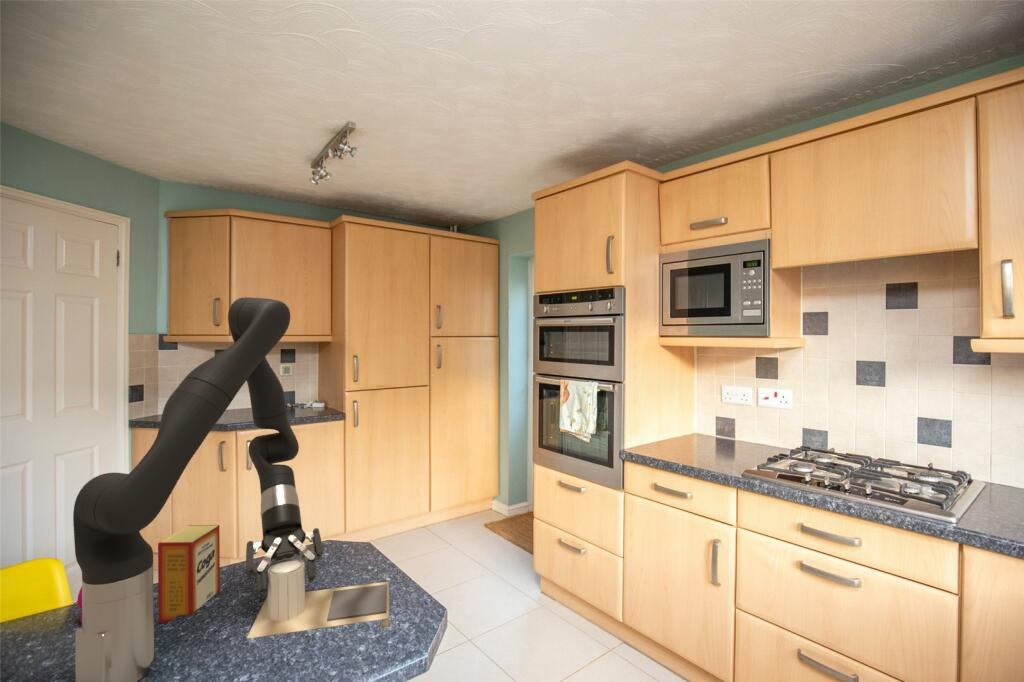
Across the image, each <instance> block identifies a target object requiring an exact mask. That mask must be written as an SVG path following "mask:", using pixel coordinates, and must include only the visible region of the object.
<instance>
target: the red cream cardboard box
mask: <svg viewBox="0 0 1024 682" xmlns="http://www.w3.org/2000/svg"><path fill="white" fill-rule="evenodd" d="M220 537H221V536H220V524H206V525H204V524H199V525H197V524H196V525H192V524H191V525H190V524H189V525H187V526H186V527H183V529H180V530H179V531H175V532H174V533H173V534H171V535H169V536H168V537H166V538H165V539H162V540H161V541H160V542H158V543H157V559H158V560H157V561H158V562H157V569H158V570H157V571H158V572H157V579H158V580H157V581H158V585H157V587H158V590H157V591H158V595H157V596H158V601H157V602H158V623H169V622H171V621H172V620H174V619H176V618H177V617H179V616H181V615H182V616H183V615H184V616H185V615H193V614H194V613H195V612H196V611H197V610H199V609H200V608H201V607H202V606H203V605H205V604H206V603H207V602H208V601H210V599H211V598H213V597H214V596H216V595H218V594H220V591H221V586H220V585H221V583H220V582H221V577H220V576H221V572H220V571H221V570H220V568H221V564H220V563H221V562H220V561H221V560H220V559H221V558H220V557H221V555H220V547H221V545H220V542H221V541H220Z"/></svg>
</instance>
